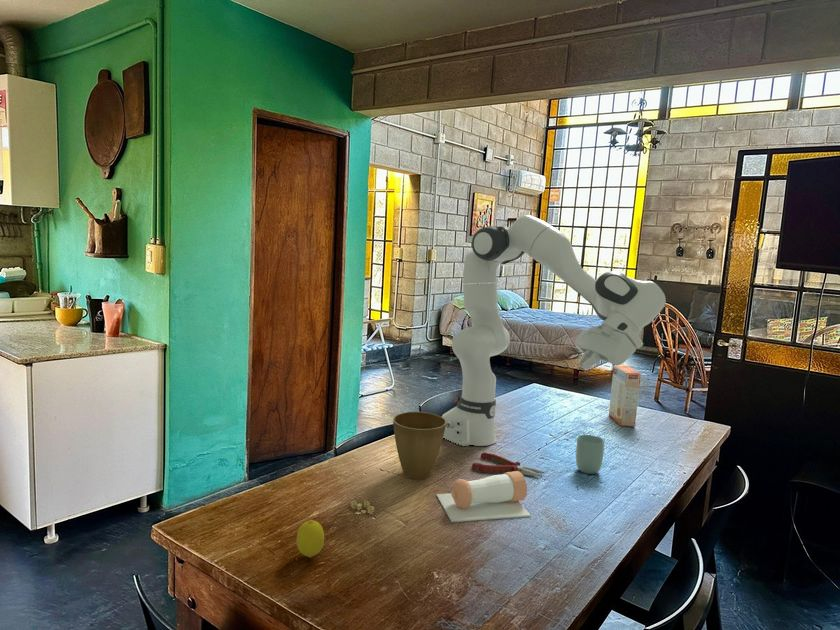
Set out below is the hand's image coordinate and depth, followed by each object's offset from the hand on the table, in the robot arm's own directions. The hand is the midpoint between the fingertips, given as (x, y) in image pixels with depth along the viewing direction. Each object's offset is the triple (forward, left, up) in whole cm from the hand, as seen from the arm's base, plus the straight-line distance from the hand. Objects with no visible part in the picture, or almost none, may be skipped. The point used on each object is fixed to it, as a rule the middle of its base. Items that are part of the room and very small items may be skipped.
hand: (582, 366), depth 149 cm
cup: (-1, +15, -34) cm, 37 cm away
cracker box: (-9, +74, -34) cm, 82 cm away
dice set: (-33, -48, -35) cm, 68 cm away
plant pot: (-37, -22, -34) cm, 55 cm away
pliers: (-19, -3, -35) cm, 40 cm away
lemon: (-28, -70, -34) cm, 83 cm away
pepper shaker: (-7, -17, -30) cm, 36 cm away
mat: (-13, -27, -34) cm, 45 cm away
